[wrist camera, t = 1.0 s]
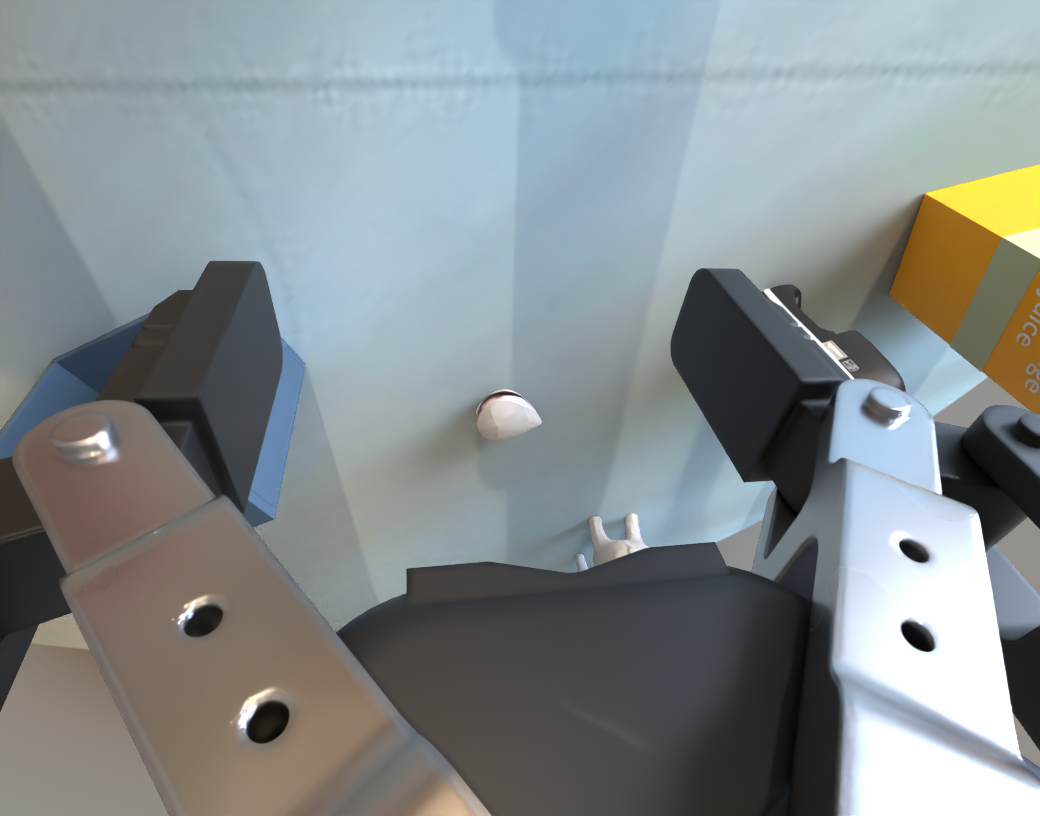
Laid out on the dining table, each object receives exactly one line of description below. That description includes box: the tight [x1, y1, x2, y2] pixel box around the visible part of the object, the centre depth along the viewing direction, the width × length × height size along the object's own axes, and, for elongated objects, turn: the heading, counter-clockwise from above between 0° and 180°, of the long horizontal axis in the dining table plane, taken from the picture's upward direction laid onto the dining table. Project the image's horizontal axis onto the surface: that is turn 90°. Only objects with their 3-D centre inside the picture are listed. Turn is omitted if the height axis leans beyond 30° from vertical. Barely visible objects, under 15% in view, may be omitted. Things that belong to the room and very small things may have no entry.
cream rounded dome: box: [476, 389, 541, 441], centre depth 39 cm, size 4×5×2 cm
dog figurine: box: [575, 513, 649, 572], centre depth 50 cm, size 5×13×11 cm, turn 173°
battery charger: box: [761, 285, 906, 393], centre depth 34 cm, size 7×4×11 cm, turn 18°
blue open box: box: [0, 313, 305, 528], centre depth 29 cm, size 7×12×12 cm, turn 112°
